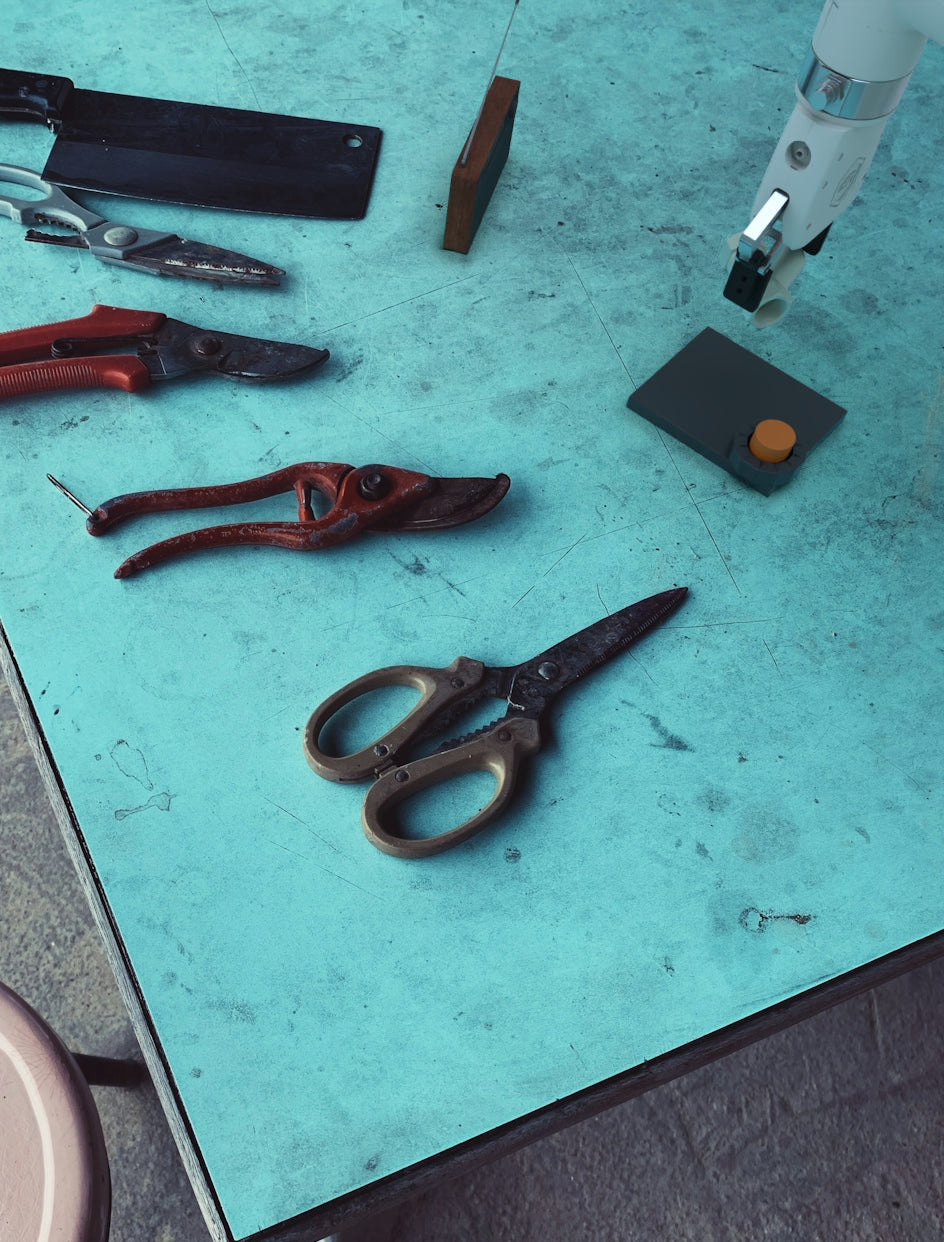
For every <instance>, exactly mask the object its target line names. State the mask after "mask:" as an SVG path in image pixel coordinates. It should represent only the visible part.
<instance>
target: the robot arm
mask: <svg viewBox="0 0 944 1242" xmlns="http://www.w3.org/2000/svg"><path fill="white" fill-rule="evenodd" d="M929 39H930V40H932V41H934V42H935V43H937V44H938V45H940V46H941V47H943V48H944V0H825V3H824V5H823V8H822V11H821V13H820V16H819V18H818V21H817V24H816V26H815V29H814V32H813V34H812V37H811V39H810V42H809V45H808V47H807V50H806V53H805V56H804V59H803V61H802V63H801V66H800V69H799V72H798V75H797V77H796V80H795V83H794V92H795V93H794V94H795V96H796V98H797V102H796V104H795V106H794V108H793V110H792V113H791V115H790V117H789V118H788V120H787V122H786V124H785V126H784V129H783V131H782V134H781V135H780V138H779V141H778V142H777V145H776V147H775V149H774V152H773V154H772V155H771V158H770V160H769V162H768V165H767V168H766V170H765V173H764V175H763V177H762V179H761V181H760V185H759V188H758V190H757V193H756V196H755V198H754V200H753V203H752V206H751V210H750V214H749V224H748V225H747V227H746V228H745V229H744V230H745V231H744V230H743V231H744V232H743V234H742V235H741V237H740V239H739V246H738V247H737V252H736V255H735V262H734V264H733V267H732V270H731V272H730V275H729V274H728V277H727V281H726V283H725V284H724V287H723V291H722V295H723V298H725V299H726V300H728V301H730V302H732V303H733V304H734V305H736V306H738V307H740V308H741V309H742V308H743V309H745V310H747V311H748V312H750V313H753V312H754V311H756V310H757V309H758V307H759V305H760V302H761V300H762V297H763V295H764V293H765V290H766V288H767V285H768V283H769V281H770V278H771V276H772V273H773V271H772V270H771V269H770V267H771V266H772V264H773V263H774V261H775V260H776V258H777V256H778V255H779V253H780V252H781V250H782V249H783V247H784V246H785V245H786V246H788V247H790V249H791V250H796V249H799V248H802V250H803V252H804V253H806V254H808V255H810V256H812V257H815V256H818V254H819V253H820V252H821V250H822V248H823V246H824V244H825V241H826V239H827V237H828V235H829V233H830V230H831V228H832V226H833V224H834V221H835V220H836V219H837V218H838V217H839V216H840V215H841V214H842V213H844V211H845V210H847V209H848V208H849V207H850V206H851V204H852V203H853V202H854V201H855V199H856V198H857V196H858V195H859V192H860V191H861V188H862V186H863V183H864V181H865V179H866V176H867V174H868V172H869V169H870V167H871V164H872V161H873V160H874V157H875V154H876V152H877V149H878V147H879V145H880V142H881V139H882V137H883V134H884V133H885V129H886V126H887V123H888V121H889V119H890V118H891V117H892V116H893V115H894V114H895V113H896V110H897V108H898V106H899V104H900V101H901V100H902V97H903V95H904V92H905V91H906V89H907V86H908V84H909V82H910V80H911V77H912V75H913V74H914V71H915V69H916V66H917V65H918V63H919V61H920V58H921V56H922V54H923V52H924V49H925V47H926V45H927V43H928V41H929ZM777 221H778V222H780V223H781V231H779V230H777V229H776V228H773V226H774V225H775V224H776V223H777ZM765 237H769V238H770V239H772V240H774V243H773V244H772V246H771V247H770V249H769V251H768V252H767V253H768V254H767V253H766V254H767V255H766V257H765V255H764V253H763V251H761V250H759V248H760V246H761V242H762V240H764V238H765Z"/></svg>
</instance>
